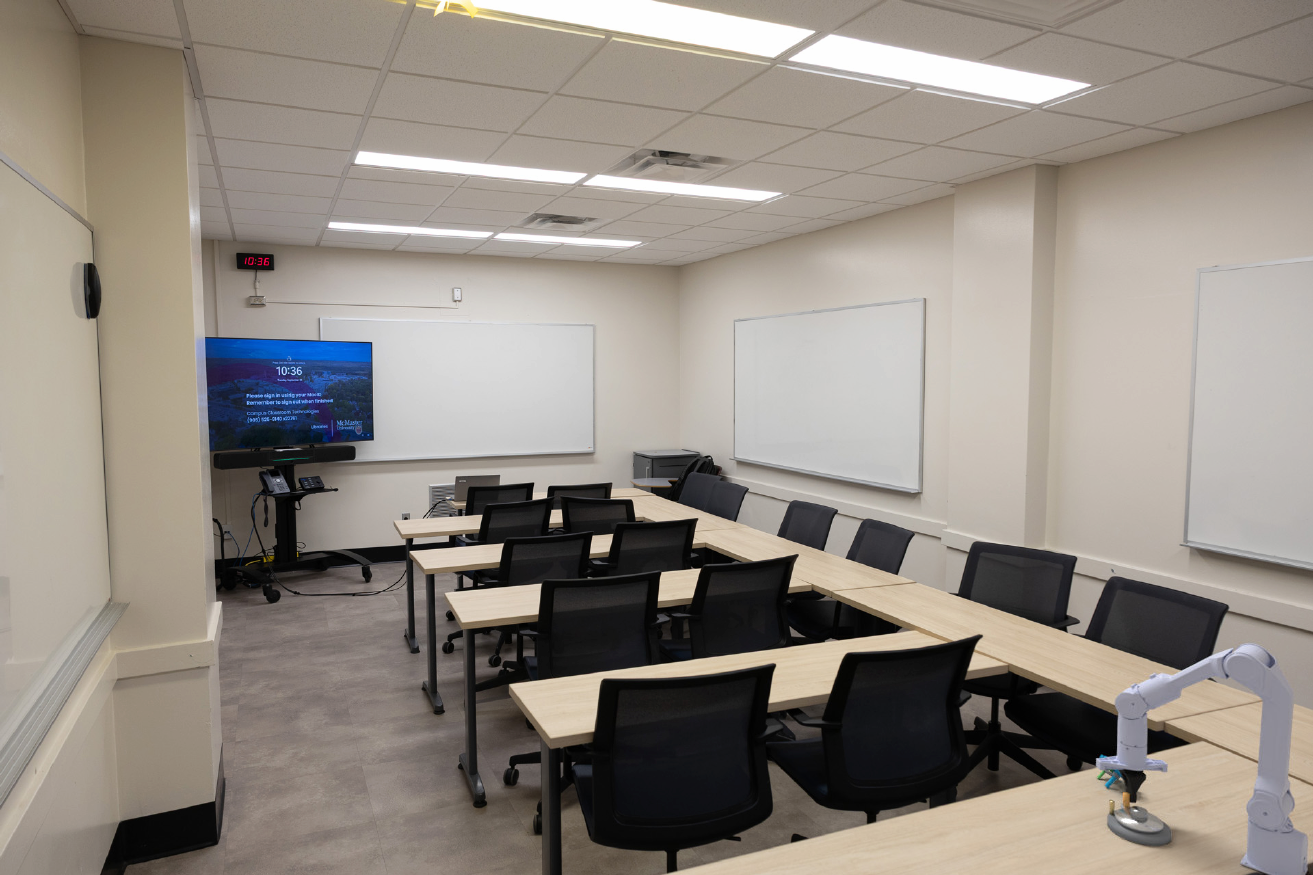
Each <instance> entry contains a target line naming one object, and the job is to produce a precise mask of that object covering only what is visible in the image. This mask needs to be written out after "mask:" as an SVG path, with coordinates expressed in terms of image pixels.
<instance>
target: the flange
mask: <svg viewBox="0 0 1313 875" xmlns="http://www.w3.org/2000/svg"><path fill="white" fill-rule="evenodd" d="M1116 810H1117V811H1116V812H1115V819H1116V820H1117V821H1118V822H1119V823H1120V824H1121V825H1123V826H1125V827H1127V828H1129V829H1131V830H1134V831H1138V832H1142V833H1159V832H1161V831H1162V830H1163V822H1164V821H1163V820H1162V819H1161V818H1160V817H1158V816H1157V815H1155V814H1153V813H1151V812H1149V811H1148V810H1147V808H1146V807H1142V806H1140V805H1138V806H1137V805H1133V806H1132V805H1131V803H1130V794H1129V793H1127V792H1126V791H1123V792H1122V803H1120V808H1119V809H1116ZM1162 821H1163V822H1162Z"/></svg>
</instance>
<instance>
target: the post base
mask: <svg viewBox="0 0 1313 875" xmlns="http://www.w3.org/2000/svg"><path fill="white" fill-rule="evenodd" d="M1115 808H1116V805H1115V800H1112V799H1109V810H1108V811H1109V812H1108V814H1107V816H1106V819H1107V820H1106V825H1107V828H1108V829H1109V830H1110V831H1111V832H1112V833H1113V834H1115V835H1116V836H1117V837H1120V838H1122V839H1124V840H1126V841H1129V842H1131V843H1135V844H1138V845H1143V846H1147V847H1148V846H1149V847H1160V846H1162V845H1163V846H1166V845H1168V844H1170V843H1171V842H1172V829H1171V827H1170V826H1169V825H1168V824H1167V823H1166V822H1164V821H1163V820H1161V821H1162V822H1163V830H1162V831H1161V832H1159V833H1142V832H1138V831H1134V830H1131V829H1129V828H1127V827H1125V826H1123V825H1121V824H1120V823H1119V822H1118V821H1117V820H1116V819H1115V812H1116V811H1117V810H1118V809H1116V810H1115ZM1170 841H1171V842H1170ZM1169 842H1170V843H1169ZM1165 844H1166V845H1165Z"/></svg>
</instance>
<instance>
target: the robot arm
mask: <svg viewBox="0 0 1313 875" xmlns="http://www.w3.org/2000/svg"><path fill="white" fill-rule="evenodd" d="M1234 649H1235V648H1234V647H1232V648H1227V649H1225V650H1222V651H1220V652H1217V653H1214V654H1211V655H1210V656H1208V657H1206V658H1204V659H1202V660H1200V661H1198V662H1196V663H1195V664H1193V665H1190V666H1189V667H1186V668H1185V669H1182V670H1181V671H1179V672H1176V673H1175V674H1172V675H1171V674H1168V673H1165V672H1161V673H1159V674H1157V672H1154V673H1152V674H1150V675H1149V676H1148V677H1149V679H1146V680H1144V681H1142V682H1140V683H1136V682H1134V683H1133V684H1131V685H1130V687H1127V688H1126V689H1124V690H1123V691H1122V692H1121V693H1119V694H1118V695H1117V696H1116V698H1115V701H1114V706H1115V709H1116V711H1117V712H1118V714H1117V715H1118V716H1117V735H1116V736H1117V742H1116V743H1117V745H1116V746H1117V748H1116V749H1117V750H1116V755H1114V756H1106V757H1107V758H1100V757H1099V758H1095V760H1096V761H1095V762H1096V763H1095V767H1096V768H1097V769H1098V770H1100V771H1103V770H1105V769H1118V770H1119V772H1120V774H1121V776H1122V778H1123V779H1122V778H1121V779H1122V781H1123V782H1124V786H1125V792H1127V793H1129V794H1130V804H1136V803H1137V800H1138V791H1139V790H1140V788H1141V786H1142V785H1143V783H1144V782H1145V781H1146V780H1147V774H1146V773H1145V772H1144V771H1151V772H1152V771H1153V772H1154V771H1155V772H1156V771H1157V772H1162V773H1168V763H1167V762H1165V761H1164V760H1163V759H1154V758H1148V713H1147V712H1149V711H1150V710H1155V709H1158V708H1160V707H1162V706H1164V705H1167V704H1170V703H1171V702H1174V701H1175V700H1178V699H1179V698H1181V696H1182V690H1183V689H1186V688H1188V687H1190V686H1193V685H1196V684H1199V683H1201V682H1203V681H1206V680H1207V679H1210V678H1212V677H1216V678H1218V679H1219V678H1220V679H1223V680H1228V679H1229V678H1231V679H1232V680H1234V681H1235V682H1236V683H1237V684H1240V685H1242V686H1244V687H1246V689H1247V688H1248V689H1249V690H1251V691H1252V692H1253V693H1254V694H1256V695H1257V696H1258V697H1259V698H1260V699H1261V700H1262V704H1261V706H1262V707H1261V719H1260V720H1261V721H1260V732H1259V747H1258V748H1259V750H1258V759H1257V760H1258V762H1257V774H1256V775H1257V776H1256V779H1255V783H1254V786H1253V794H1252V797H1251V798H1249V800H1247V803H1246V814H1248V815H1247V838H1246V839H1247V840H1246V841H1247V843H1246V845H1247V846H1246V853H1244V856H1243V857H1242V858H1241V860H1240V865H1242V866H1244V867H1247V868H1250V869H1253V870H1255V871H1257V872H1260V873H1263V874H1267V875H1306V874H1307V872H1308V870H1309V869H1308V851H1309V848H1308V847H1309V846H1308V845H1309V843H1308V842H1309V840H1308V834H1306V833H1305V832H1302V831H1300V830H1298V829H1296V828H1295V827H1294V824H1293V822H1292V820H1291V818H1290V817H1289V816H1290V814H1291V813H1292V812H1293V811H1294V809H1295V805H1296V803H1295V798H1294V797H1293V794H1292V791H1291V782H1290V780H1289V770H1290V758H1291V757H1290V756H1291V745H1292V744H1291V742H1292V728H1293V720H1294V706H1295V705H1294V703H1295V702H1294V701H1295V692H1294V689H1293V688H1292V685H1291V684H1290V683H1289V681H1288V679H1287V677H1286V676H1285V674H1284V672H1283V670H1282V669H1281V666H1280V665H1279V662H1278V659H1277V657H1275V656H1274V655H1273V654H1271V652H1269V651H1268V649H1266V648H1265V647H1263V646H1262V645H1260V644H1258V643H1257V644H1256V643H1253V642H1252V643H1251V642H1248V643H1247V642H1246V643H1243V644H1240V645H1239V646H1238V647H1237V648H1236V649H1235V650H1234Z"/></svg>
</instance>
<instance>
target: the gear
mask: <svg viewBox="0 0 1313 875" xmlns="http://www.w3.org/2000/svg"><path fill="white" fill-rule="evenodd" d="M1107 757H1108V756H1106V755H1103V754H1100V756H1099V758H1107ZM1105 774H1107V775H1108V776H1110V778H1109V779H1108V780H1107V781H1106V783H1105V784H1104V786H1105V787H1106V789H1109V788H1110V787H1111V786H1112V785H1113V784H1114V783H1115V782H1116V781H1118V780H1119V779H1122V780H1123V778H1122V776H1121V774H1120V772H1119V770H1118V769H1105V770H1101V772H1099V774H1098V776H1097V777H1096V778H1097V779H1098V780H1101V778H1102V777H1103V776H1104V775H1105Z"/></svg>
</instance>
